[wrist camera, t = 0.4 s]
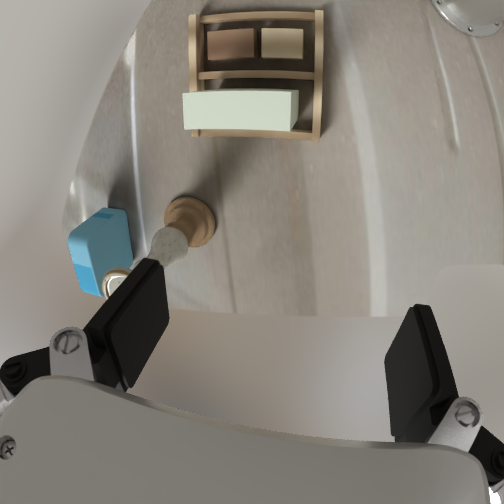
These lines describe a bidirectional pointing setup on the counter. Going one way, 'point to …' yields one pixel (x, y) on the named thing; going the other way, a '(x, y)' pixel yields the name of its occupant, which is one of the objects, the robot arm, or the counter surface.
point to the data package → (100, 247)
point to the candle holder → (171, 238)
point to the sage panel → (241, 109)
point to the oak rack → (199, 75)
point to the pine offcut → (282, 43)
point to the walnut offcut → (232, 44)
